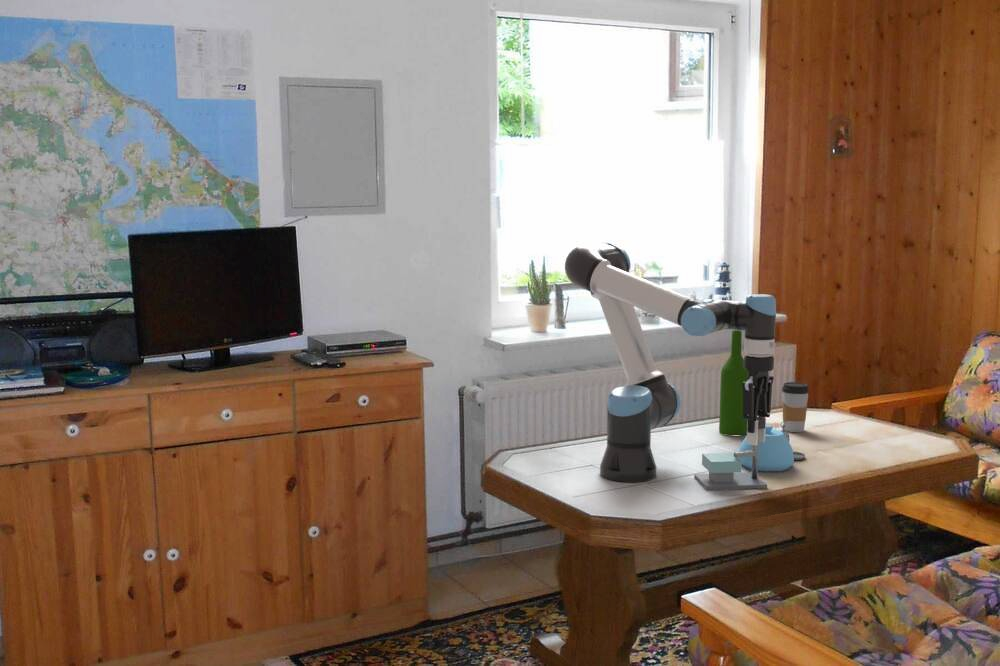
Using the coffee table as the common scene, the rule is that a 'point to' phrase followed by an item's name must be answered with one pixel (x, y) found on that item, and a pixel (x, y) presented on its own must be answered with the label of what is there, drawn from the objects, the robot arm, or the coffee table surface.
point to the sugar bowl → (770, 452)
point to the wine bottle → (733, 390)
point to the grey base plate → (729, 481)
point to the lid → (721, 463)
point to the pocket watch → (796, 454)
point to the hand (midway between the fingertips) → (755, 442)
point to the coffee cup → (794, 405)
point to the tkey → (753, 451)
